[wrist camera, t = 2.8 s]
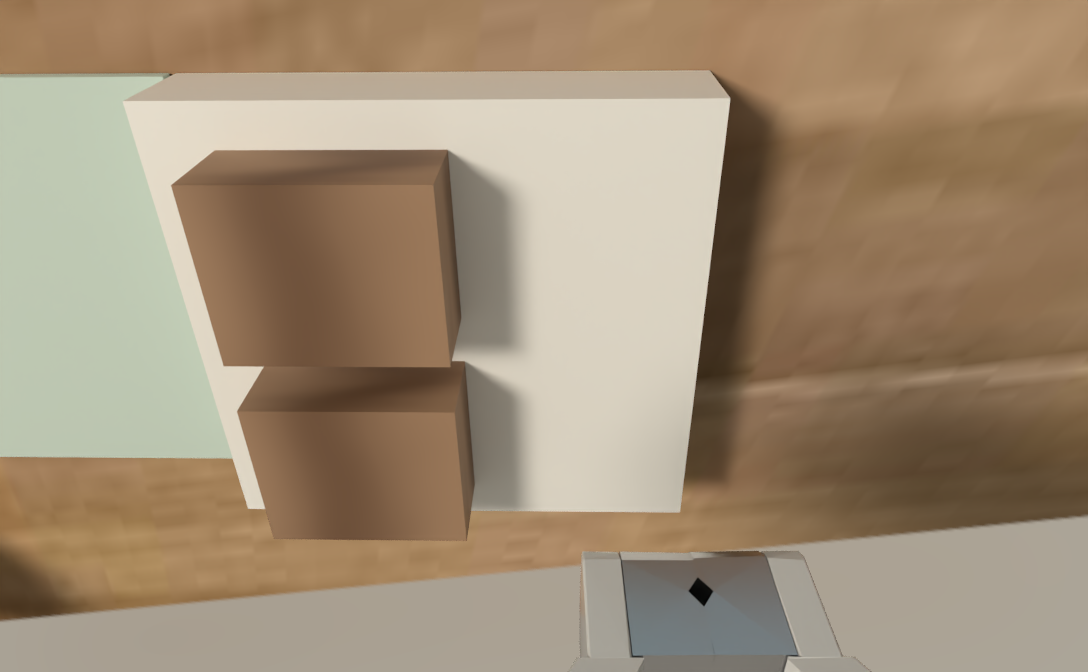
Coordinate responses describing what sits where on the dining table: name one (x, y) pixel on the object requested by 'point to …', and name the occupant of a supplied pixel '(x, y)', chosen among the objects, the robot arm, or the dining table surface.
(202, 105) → the white flat block
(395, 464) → the far tile
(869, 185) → the dining table surface
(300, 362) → the near tile
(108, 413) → the mat
